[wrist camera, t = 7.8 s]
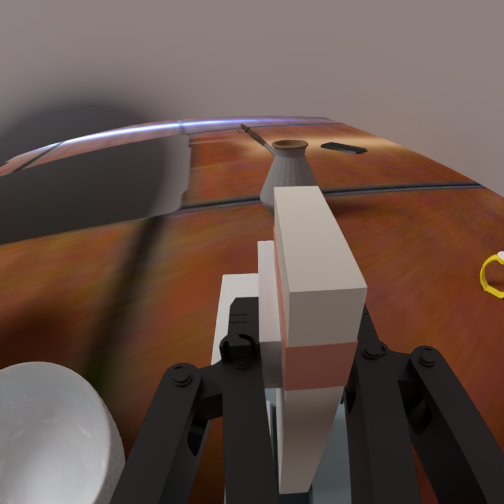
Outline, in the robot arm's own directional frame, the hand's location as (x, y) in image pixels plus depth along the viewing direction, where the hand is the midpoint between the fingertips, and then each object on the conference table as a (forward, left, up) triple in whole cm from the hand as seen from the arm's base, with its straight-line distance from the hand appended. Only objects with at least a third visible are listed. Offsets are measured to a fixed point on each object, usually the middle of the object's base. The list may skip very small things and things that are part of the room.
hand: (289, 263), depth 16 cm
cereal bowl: (-2, -21, -16) cm, 26 cm away
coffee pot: (-39, +24, -16) cm, 49 cm away
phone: (-67, +71, -16) cm, 99 cm away
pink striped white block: (+5, -3, -10) cm, 11 cm away
